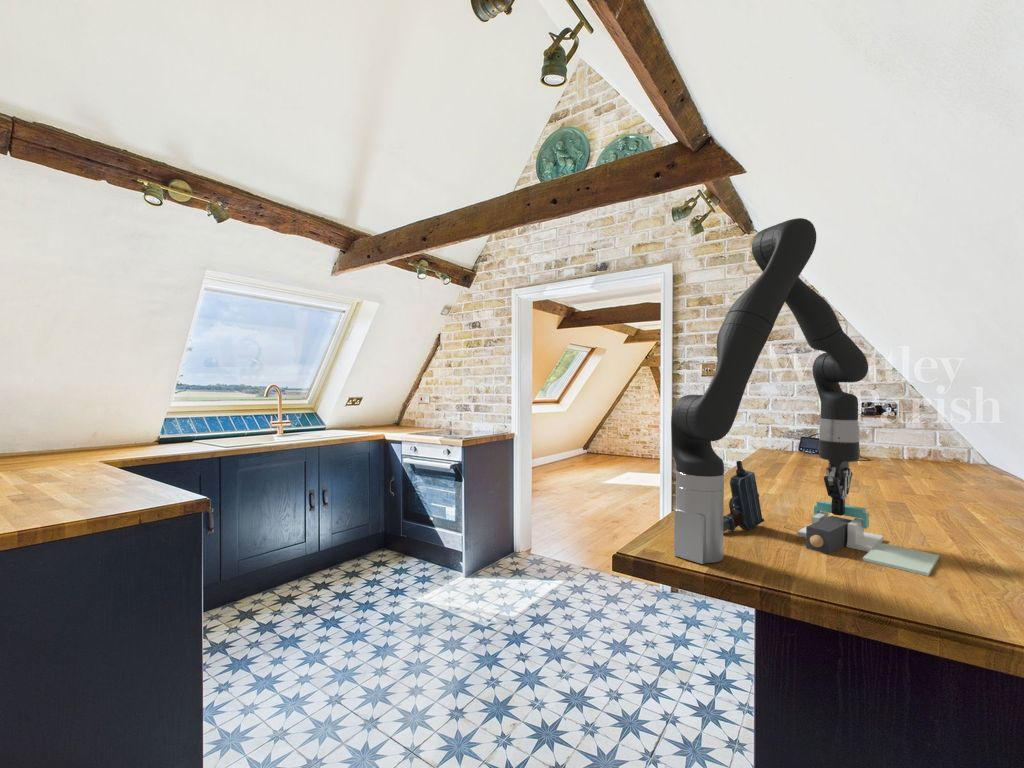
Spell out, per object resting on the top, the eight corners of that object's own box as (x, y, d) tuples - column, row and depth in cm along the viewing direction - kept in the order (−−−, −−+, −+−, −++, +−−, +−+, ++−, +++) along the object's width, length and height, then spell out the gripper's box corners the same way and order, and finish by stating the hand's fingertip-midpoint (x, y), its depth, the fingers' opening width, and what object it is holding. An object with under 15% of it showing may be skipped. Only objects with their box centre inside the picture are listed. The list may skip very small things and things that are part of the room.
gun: (702, 475, 110) (744, 455, 116) (715, 541, 112) (755, 517, 118) (712, 477, 107) (753, 457, 114) (724, 544, 109) (764, 520, 116)
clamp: (871, 552, 99) (871, 529, 99) (797, 535, 109) (797, 514, 109) (883, 540, 107) (883, 518, 107) (813, 525, 117) (813, 506, 117)
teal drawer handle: (866, 528, 104) (866, 510, 104) (813, 518, 111) (814, 501, 111) (868, 526, 105) (869, 508, 105) (817, 516, 113) (817, 499, 113)
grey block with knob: (827, 556, 97) (827, 532, 97) (804, 550, 100) (804, 527, 100) (854, 541, 106) (855, 519, 106) (832, 536, 110) (832, 515, 110)
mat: (928, 576, 87) (928, 573, 87) (862, 560, 94) (862, 557, 94) (939, 558, 96) (939, 555, 96) (878, 545, 103) (878, 542, 103)
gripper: (850, 442, 99) (850, 524, 99) (866, 438, 108) (865, 513, 108) (810, 439, 105) (809, 516, 105) (828, 435, 113) (827, 506, 113)
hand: (838, 514), depth 106 cm, fingers closed
